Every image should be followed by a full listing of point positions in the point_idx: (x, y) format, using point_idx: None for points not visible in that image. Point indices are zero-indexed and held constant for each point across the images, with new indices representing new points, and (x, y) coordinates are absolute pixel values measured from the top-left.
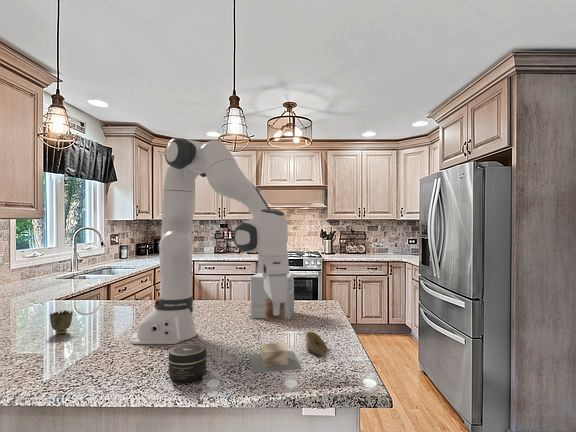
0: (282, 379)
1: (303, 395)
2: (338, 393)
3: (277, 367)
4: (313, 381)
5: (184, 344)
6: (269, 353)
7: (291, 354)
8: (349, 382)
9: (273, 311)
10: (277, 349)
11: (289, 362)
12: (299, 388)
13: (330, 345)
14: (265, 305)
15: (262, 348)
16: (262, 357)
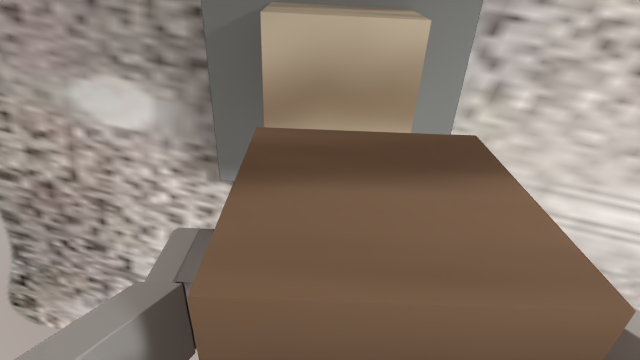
0: (154, 75)
1: (3, 123)
2: (38, 232)
3: (247, 76)
4: (132, 186)
5: None
6: (262, 53)
7: None
8: (125, 280)
9: (159, 259)
10: (294, 112)
11: None
12: (65, 123)
13: None
14: (485, 218)
15: (339, 19)
16: (316, 8)
